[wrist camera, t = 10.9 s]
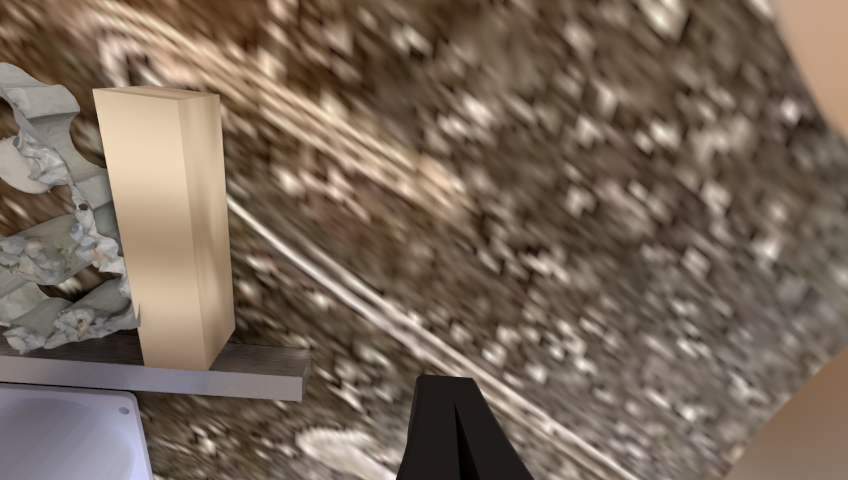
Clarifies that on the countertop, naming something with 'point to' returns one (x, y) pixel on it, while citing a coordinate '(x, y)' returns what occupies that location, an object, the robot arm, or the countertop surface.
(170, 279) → the block
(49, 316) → the egg carton
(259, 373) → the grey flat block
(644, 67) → the countertop surface
